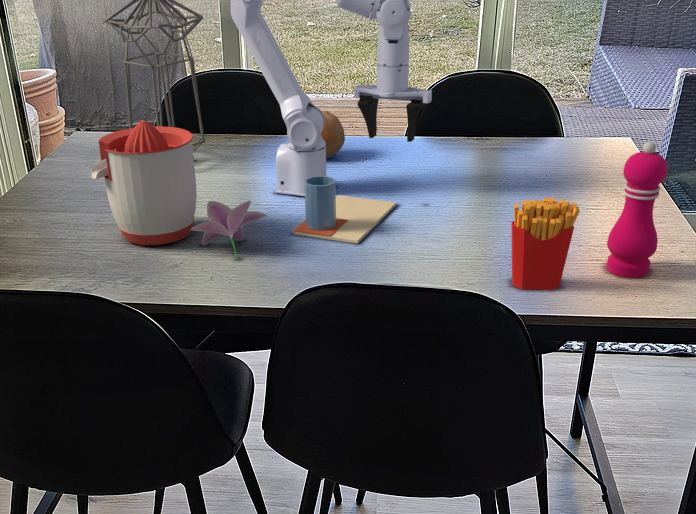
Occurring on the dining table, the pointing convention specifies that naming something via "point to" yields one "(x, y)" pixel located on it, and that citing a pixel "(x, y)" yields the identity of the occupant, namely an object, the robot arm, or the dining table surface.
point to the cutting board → (351, 219)
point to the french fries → (541, 242)
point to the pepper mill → (637, 215)
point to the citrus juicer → (149, 182)
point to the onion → (332, 134)
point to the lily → (226, 221)
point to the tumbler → (320, 202)
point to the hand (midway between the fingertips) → (391, 138)
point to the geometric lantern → (141, 6)
